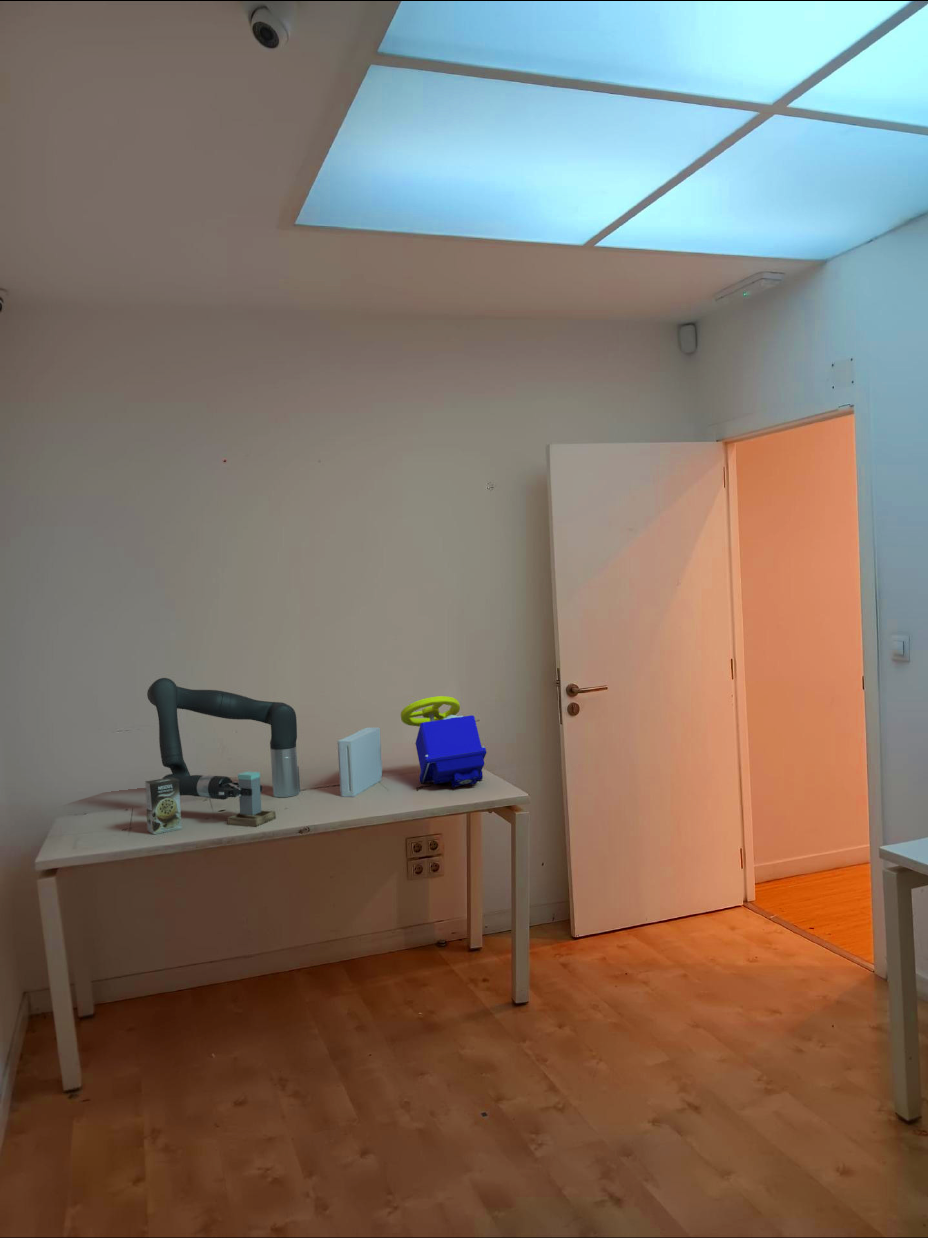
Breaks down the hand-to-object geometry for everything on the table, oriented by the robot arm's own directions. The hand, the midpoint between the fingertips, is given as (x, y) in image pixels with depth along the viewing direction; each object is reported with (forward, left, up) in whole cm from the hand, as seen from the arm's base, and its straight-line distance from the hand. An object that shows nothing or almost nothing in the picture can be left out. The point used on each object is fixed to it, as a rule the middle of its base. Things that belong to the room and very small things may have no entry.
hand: (256, 790), depth 303 cm
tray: (0, -3, -10) cm, 11 cm away
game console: (-50, +8, -11) cm, 52 cm away
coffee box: (+16, -25, -11) cm, 31 cm away
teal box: (0, -3, -7) cm, 8 cm away
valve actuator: (-63, +37, -11) cm, 73 cm away
